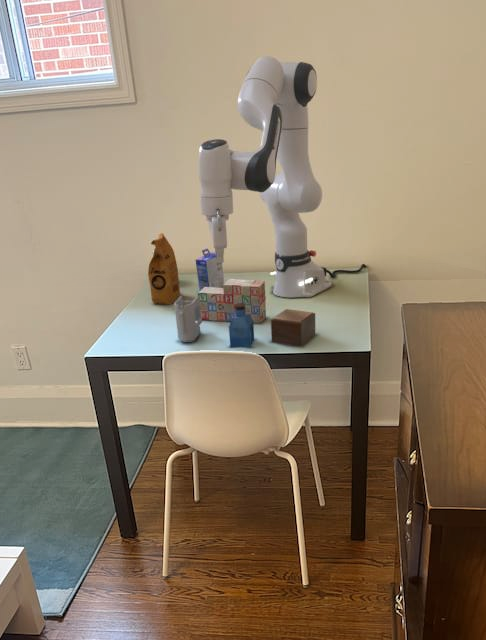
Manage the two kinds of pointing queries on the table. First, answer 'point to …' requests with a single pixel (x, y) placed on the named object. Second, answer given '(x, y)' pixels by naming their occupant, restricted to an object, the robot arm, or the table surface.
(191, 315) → the cable organizer
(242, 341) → the perfume bottle
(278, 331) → the walnut block
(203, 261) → the ink cartridge box
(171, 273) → the coffee package
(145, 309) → the table surface
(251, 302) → the stack of blocks
